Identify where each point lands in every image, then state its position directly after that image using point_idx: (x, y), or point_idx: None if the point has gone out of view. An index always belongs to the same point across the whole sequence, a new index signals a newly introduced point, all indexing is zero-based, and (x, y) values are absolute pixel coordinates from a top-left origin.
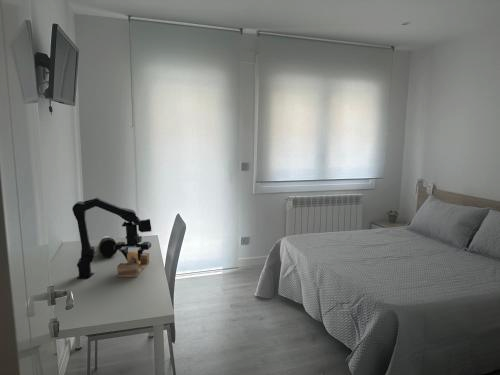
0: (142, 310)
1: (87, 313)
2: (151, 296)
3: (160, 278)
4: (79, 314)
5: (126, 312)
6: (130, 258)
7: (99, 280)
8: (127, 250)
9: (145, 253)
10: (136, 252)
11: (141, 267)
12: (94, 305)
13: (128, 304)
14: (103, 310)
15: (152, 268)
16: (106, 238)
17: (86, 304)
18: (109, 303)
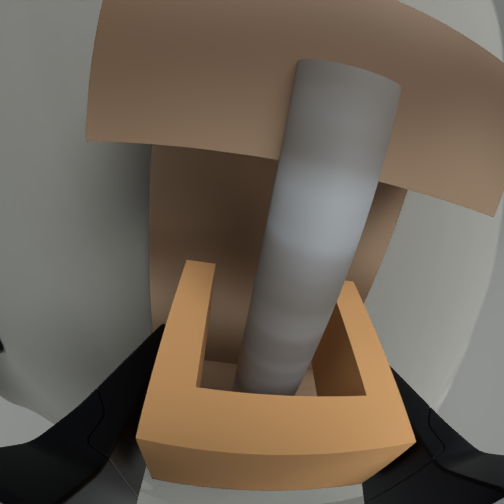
0: (331, 496)
1: (196, 498)
2: None
3: (435, 398)
4: (178, 496)
5: (293, 501)
6: (202, 355)
7: (74, 386)
8: (105, 488)
9: (485, 88)
10: (345, 463)
11: (349, 278)
12: (194, 489)
13: (294, 492)
14: (232, 498)
15: (442, 260)
16: None
17: (166, 484)
18: (235, 490)
